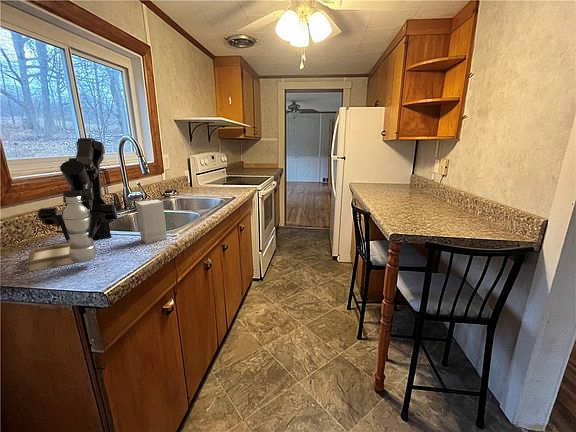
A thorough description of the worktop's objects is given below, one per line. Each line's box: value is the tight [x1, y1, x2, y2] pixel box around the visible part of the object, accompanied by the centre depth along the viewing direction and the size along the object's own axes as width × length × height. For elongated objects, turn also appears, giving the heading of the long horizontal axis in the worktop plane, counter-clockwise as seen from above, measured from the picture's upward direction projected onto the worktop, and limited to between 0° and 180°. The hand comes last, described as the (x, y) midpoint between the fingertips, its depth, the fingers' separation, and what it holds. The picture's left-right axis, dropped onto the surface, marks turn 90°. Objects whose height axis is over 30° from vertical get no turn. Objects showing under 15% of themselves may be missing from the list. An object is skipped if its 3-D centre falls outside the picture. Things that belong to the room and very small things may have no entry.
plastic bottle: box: [62, 196, 98, 264], centre depth 80 cm, size 6×7×20 cm
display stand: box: [26, 242, 75, 272], centre depth 88 cm, size 13×13×3 cm
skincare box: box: [135, 199, 168, 244], centre depth 106 cm, size 8×7×16 cm
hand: (79, 238), depth 79 cm, fingers closed on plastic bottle, 5 cm apart
